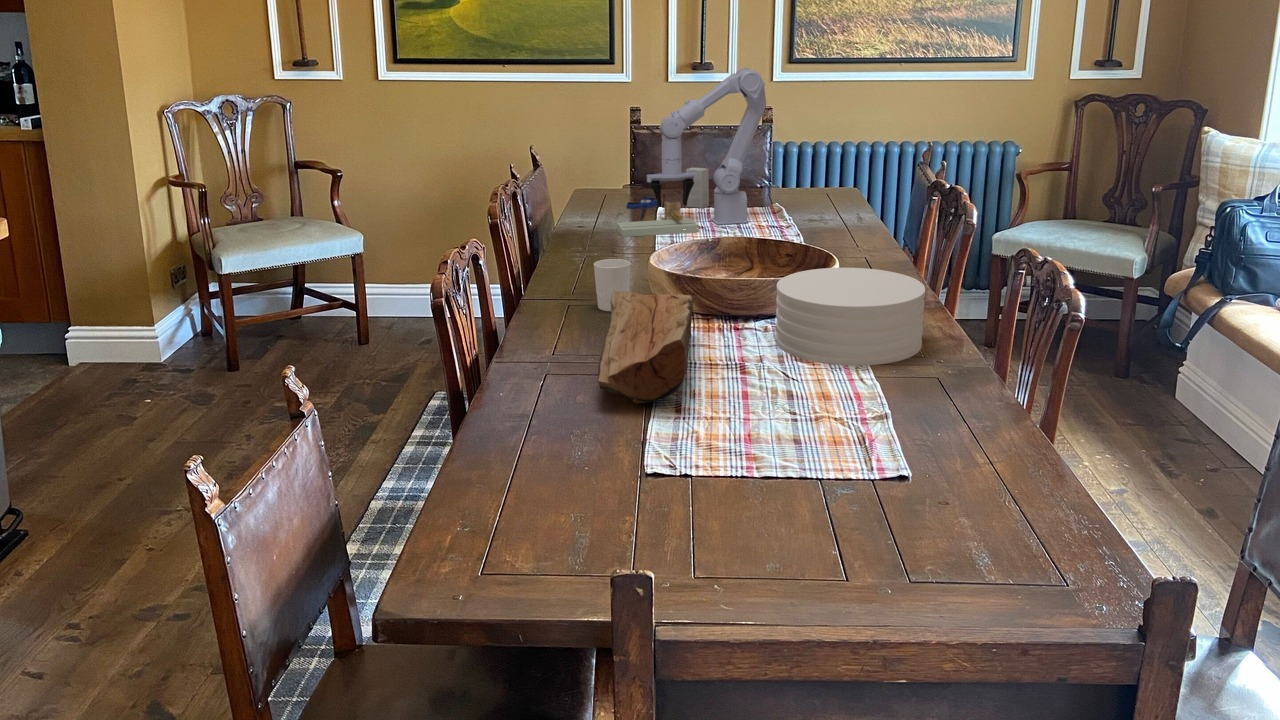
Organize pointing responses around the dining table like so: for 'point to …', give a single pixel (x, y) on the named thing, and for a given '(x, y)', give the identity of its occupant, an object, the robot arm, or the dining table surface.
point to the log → (646, 345)
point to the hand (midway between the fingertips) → (672, 205)
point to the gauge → (673, 210)
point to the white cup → (611, 280)
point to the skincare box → (699, 189)
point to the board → (657, 227)
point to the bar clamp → (643, 204)
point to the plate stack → (849, 316)
